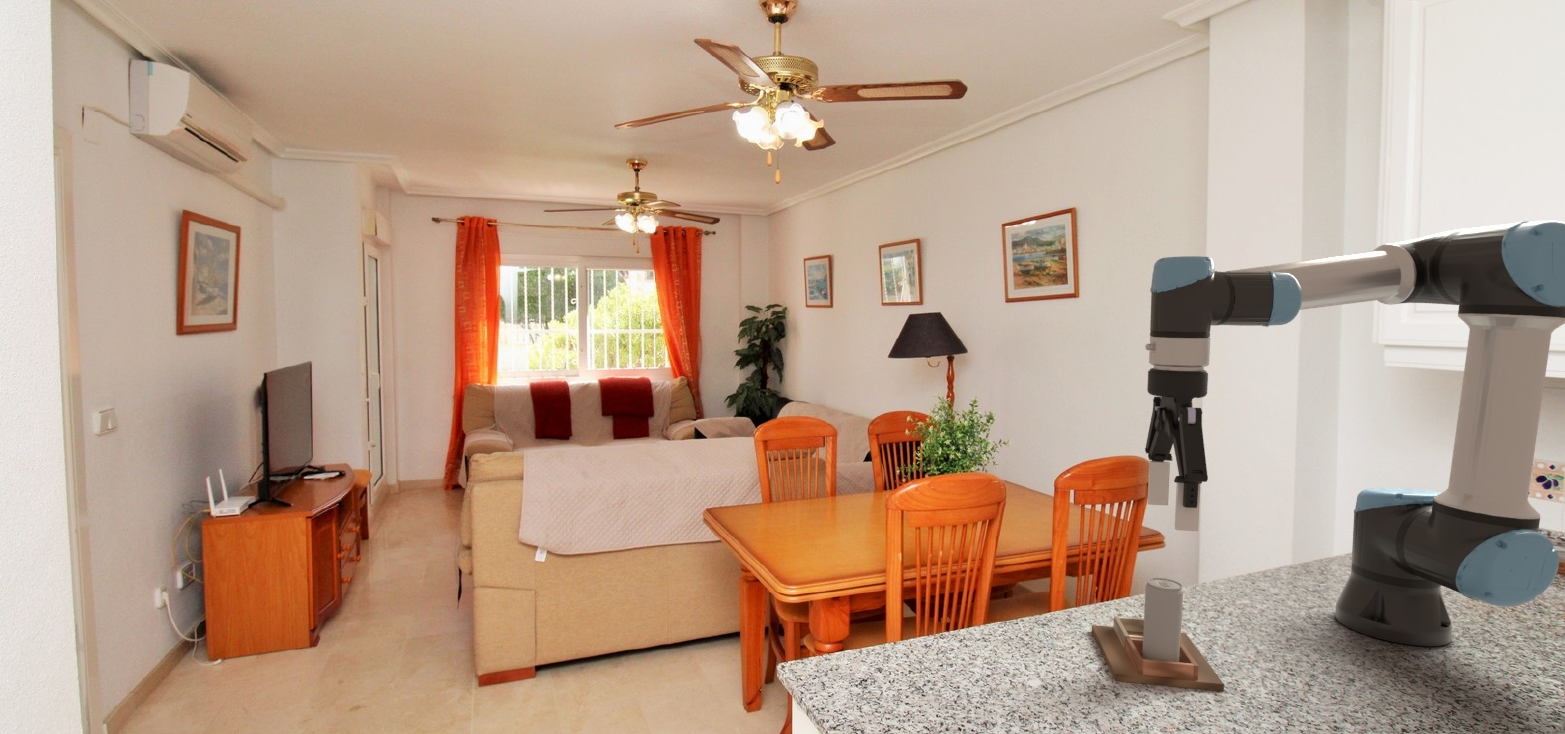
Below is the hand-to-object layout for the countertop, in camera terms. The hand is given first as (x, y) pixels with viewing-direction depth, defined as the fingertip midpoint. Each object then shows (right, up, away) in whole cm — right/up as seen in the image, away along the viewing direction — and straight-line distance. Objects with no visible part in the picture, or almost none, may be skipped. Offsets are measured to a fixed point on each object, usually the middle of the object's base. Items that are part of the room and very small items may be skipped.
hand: (1171, 516), depth 111 cm
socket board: (0, -22, +5) cm, 23 cm away
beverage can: (-1, -22, +1) cm, 22 cm away
